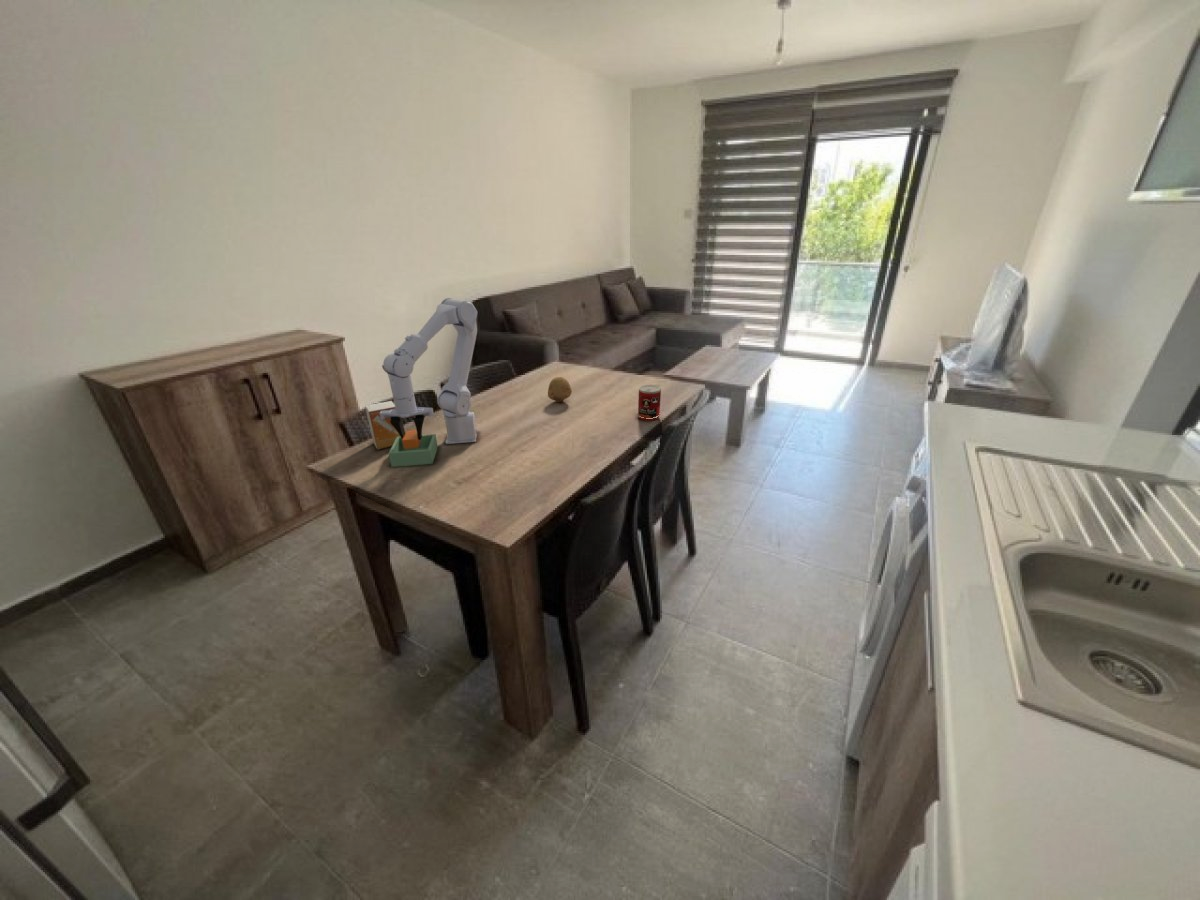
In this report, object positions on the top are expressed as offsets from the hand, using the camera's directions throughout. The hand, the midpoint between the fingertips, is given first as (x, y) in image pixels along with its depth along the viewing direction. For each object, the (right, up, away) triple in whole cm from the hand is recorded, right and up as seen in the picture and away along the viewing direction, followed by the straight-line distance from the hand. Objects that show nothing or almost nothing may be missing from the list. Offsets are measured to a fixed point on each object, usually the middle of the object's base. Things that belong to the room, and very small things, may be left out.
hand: (412, 439), depth 143 cm
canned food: (+74, +8, +30) cm, 80 cm away
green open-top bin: (0, -5, +3) cm, 6 cm away
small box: (-12, -1, +11) cm, 16 cm away
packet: (0, -1, +1) cm, 2 cm away
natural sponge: (+41, +15, +44) cm, 62 cm away
